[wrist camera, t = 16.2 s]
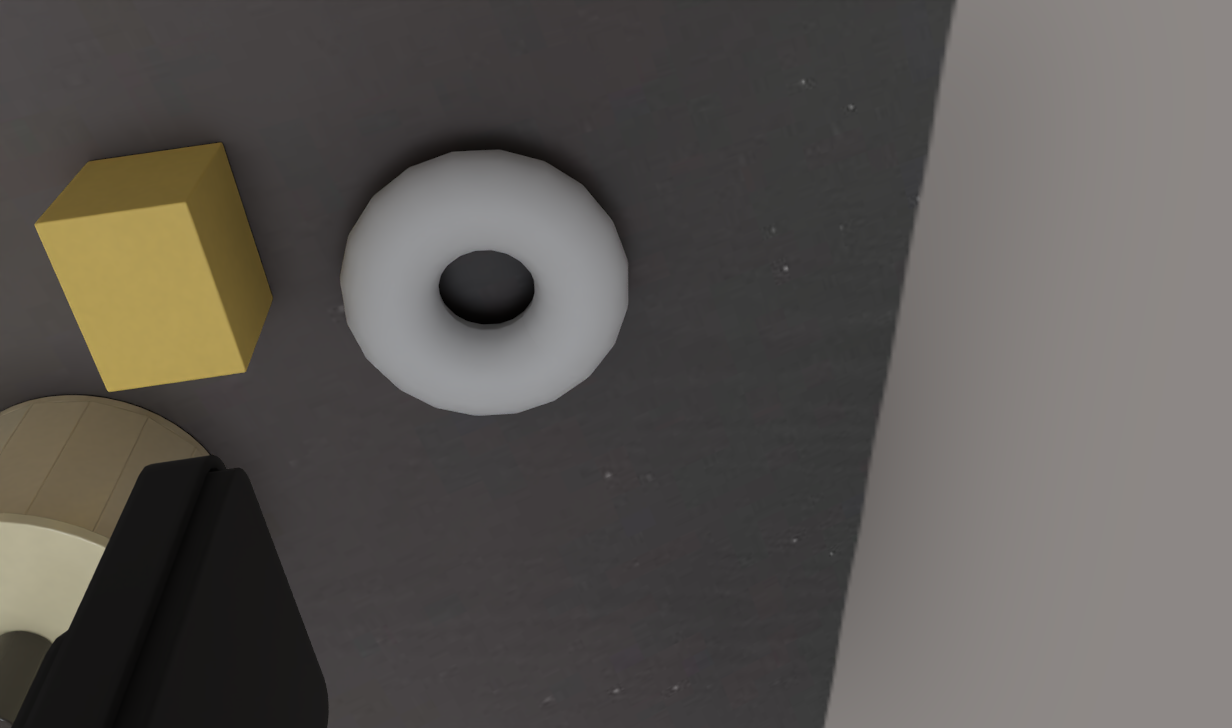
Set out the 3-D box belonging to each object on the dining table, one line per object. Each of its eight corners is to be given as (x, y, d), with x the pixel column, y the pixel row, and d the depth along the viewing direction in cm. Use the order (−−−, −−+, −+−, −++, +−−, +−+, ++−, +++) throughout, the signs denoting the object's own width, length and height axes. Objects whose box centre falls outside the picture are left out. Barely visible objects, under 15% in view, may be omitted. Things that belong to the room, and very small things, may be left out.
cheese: (87, 160, 36) (32, 224, 32) (222, 141, 36) (185, 201, 32) (149, 317, 40) (107, 393, 35) (273, 299, 40) (246, 373, 35)
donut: (404, 86, 36) (307, 331, 40) (397, 119, 33) (293, 380, 37) (672, 201, 39) (555, 418, 43) (687, 241, 36) (560, 470, 40)
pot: (-105, 453, 42) (-213, 591, 35) (134, 355, 40) (66, 480, 34) (67, 631, 47) (0, 778, 41) (283, 549, 46) (248, 688, 39)
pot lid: (-228, 573, 36) (-317, 682, 32) (77, 450, 34) (22, 549, 30) (3, 777, 42) (-48, 890, 38) (271, 680, 40) (246, 787, 36)
